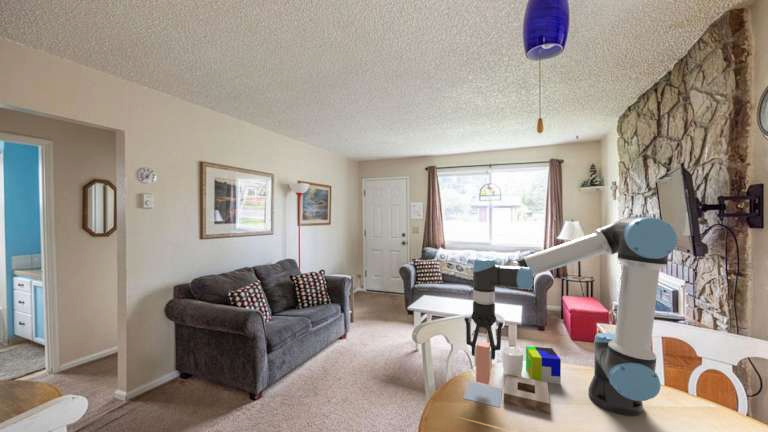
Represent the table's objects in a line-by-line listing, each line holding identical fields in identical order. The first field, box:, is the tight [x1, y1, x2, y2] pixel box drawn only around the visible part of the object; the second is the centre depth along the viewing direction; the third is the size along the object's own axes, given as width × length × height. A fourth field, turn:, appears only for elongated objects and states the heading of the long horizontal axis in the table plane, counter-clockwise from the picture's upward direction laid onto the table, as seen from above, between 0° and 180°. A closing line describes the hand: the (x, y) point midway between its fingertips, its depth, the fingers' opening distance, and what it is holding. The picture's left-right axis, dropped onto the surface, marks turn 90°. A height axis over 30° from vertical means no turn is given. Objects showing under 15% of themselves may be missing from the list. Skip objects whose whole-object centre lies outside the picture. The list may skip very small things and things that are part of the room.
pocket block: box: [503, 374, 551, 415], centre depth 109 cm, size 14×14×4 cm
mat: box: [463, 381, 503, 408], centre depth 111 cm, size 12×12×1 cm
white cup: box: [501, 346, 524, 377], centre depth 125 cm, size 8×8×10 cm
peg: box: [475, 340, 491, 385], centre depth 111 cm, size 4×4×13 cm
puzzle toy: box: [525, 345, 562, 385], centre depth 124 cm, size 10×10×10 cm
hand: (483, 366), depth 111 cm, fingers closed on peg, 4 cm apart
